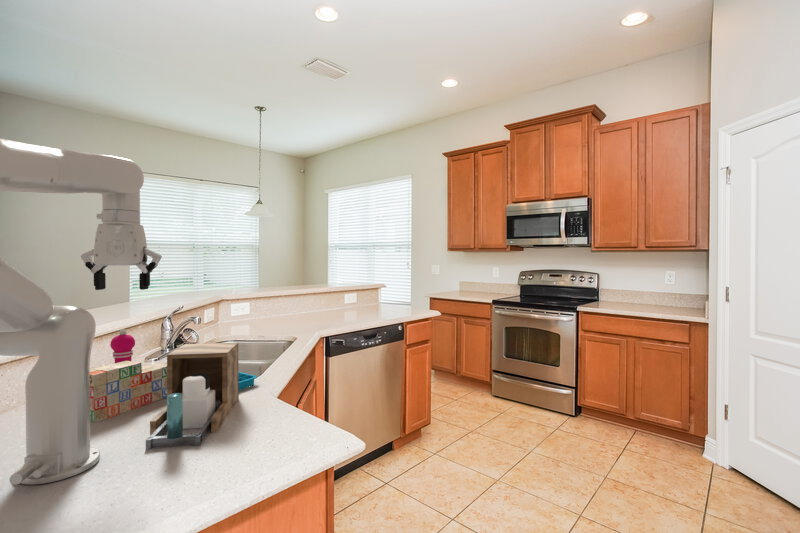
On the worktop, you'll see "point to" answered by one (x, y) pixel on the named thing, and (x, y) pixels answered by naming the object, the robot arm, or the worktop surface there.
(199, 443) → the frame
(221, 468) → the worktop surface
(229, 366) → the shelf lane
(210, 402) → the medicine bottle
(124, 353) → the pepper mill
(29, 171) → the robot arm
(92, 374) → the stack of blocks
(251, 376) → the ice cube tray
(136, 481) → the worktop surface
